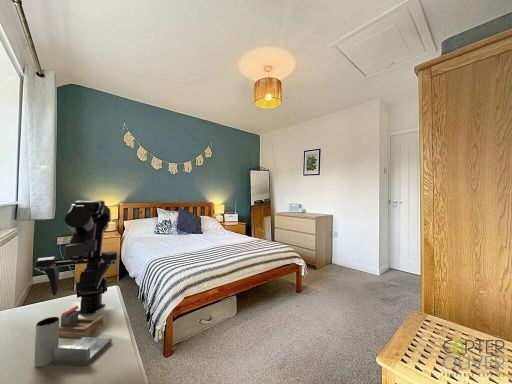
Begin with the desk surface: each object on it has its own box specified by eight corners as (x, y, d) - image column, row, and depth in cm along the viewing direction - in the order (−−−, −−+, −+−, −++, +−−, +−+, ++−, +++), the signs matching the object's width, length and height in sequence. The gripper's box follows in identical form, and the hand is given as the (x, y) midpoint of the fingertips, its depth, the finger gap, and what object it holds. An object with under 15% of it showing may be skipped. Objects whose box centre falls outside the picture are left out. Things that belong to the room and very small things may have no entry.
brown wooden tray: (70, 323, 75) (70, 313, 75) (103, 324, 74) (104, 315, 74) (50, 336, 68) (50, 325, 68) (86, 337, 67) (87, 327, 67)
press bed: (82, 341, 66) (83, 327, 66) (111, 342, 65) (112, 328, 65) (53, 363, 57) (54, 347, 57) (86, 365, 56) (87, 349, 56)
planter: (43, 368, 55) (44, 327, 55) (29, 365, 56) (31, 324, 56) (62, 355, 59) (64, 317, 60) (49, 353, 60) (50, 315, 61)
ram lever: (72, 320, 74) (72, 305, 74) (80, 321, 73) (81, 305, 74) (57, 329, 69) (58, 313, 69) (66, 330, 68) (67, 313, 69)
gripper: (32, 232, 57) (17, 297, 50) (117, 228, 66) (113, 283, 59) (46, 243, 66) (34, 299, 59) (119, 238, 74) (116, 287, 68)
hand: (76, 292), depth 61 cm, fingers open, 9 cm apart
